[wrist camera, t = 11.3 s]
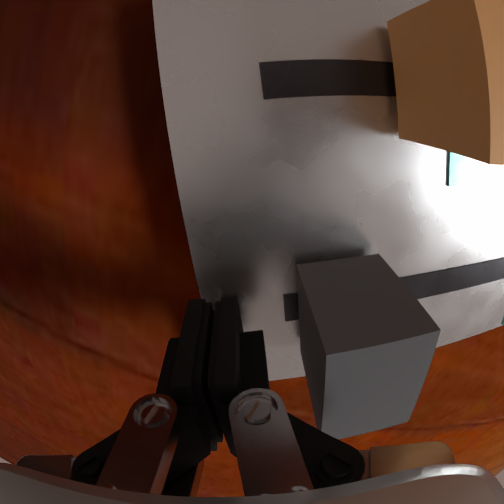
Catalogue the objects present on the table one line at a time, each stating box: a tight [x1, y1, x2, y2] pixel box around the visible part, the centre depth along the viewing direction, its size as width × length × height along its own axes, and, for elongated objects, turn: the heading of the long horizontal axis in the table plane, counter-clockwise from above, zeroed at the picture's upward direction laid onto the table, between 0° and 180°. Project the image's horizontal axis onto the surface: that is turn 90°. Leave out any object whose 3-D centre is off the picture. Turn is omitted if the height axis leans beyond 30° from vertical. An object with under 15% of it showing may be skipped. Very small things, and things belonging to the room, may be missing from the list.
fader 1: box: [296, 254, 441, 439], centre depth 9 cm, size 3×4×4 cm
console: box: [152, 0, 504, 381], centre depth 11 cm, size 26×16×2 cm, turn 97°
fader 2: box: [387, 0, 504, 165], centre depth 6 cm, size 3×4×4 cm
